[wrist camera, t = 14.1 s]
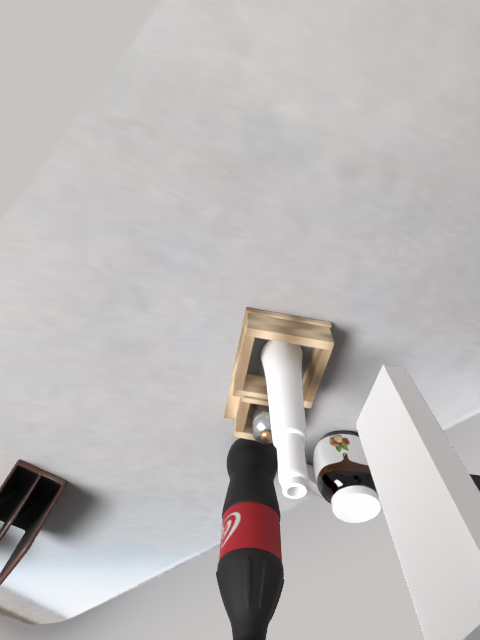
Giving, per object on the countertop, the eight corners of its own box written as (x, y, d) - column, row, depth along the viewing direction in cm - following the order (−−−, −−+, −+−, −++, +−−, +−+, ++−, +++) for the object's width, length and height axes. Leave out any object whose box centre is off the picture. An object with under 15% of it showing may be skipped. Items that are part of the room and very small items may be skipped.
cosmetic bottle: (302, 335, 50) (329, 468, 31) (302, 370, 53) (327, 511, 34) (258, 337, 51) (259, 470, 31) (261, 372, 54) (263, 512, 34)
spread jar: (374, 430, 60) (398, 494, 50) (361, 475, 65) (380, 541, 55) (302, 426, 60) (311, 488, 50) (295, 471, 66) (302, 536, 55)
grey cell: (281, 395, 56) (284, 429, 50) (275, 414, 58) (277, 449, 51) (255, 391, 56) (255, 425, 49) (251, 410, 57) (250, 445, 51)
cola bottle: (218, 446, 63) (190, 676, 37) (253, 422, 60) (251, 656, 34) (250, 470, 66) (246, 701, 40) (286, 449, 63) (307, 684, 37)
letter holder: (68, 480, 70) (28, 557, 58) (32, 526, 78) (-11, 602, 66) (19, 457, 67) (-34, 533, 55) (-13, 508, 75) (-66, 583, 63)
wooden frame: (330, 322, 50) (337, 341, 46) (295, 424, 60) (298, 448, 56) (246, 307, 50) (245, 325, 45) (224, 413, 59) (221, 436, 55)
